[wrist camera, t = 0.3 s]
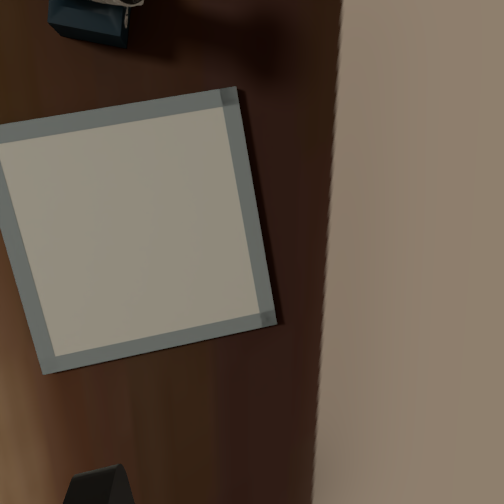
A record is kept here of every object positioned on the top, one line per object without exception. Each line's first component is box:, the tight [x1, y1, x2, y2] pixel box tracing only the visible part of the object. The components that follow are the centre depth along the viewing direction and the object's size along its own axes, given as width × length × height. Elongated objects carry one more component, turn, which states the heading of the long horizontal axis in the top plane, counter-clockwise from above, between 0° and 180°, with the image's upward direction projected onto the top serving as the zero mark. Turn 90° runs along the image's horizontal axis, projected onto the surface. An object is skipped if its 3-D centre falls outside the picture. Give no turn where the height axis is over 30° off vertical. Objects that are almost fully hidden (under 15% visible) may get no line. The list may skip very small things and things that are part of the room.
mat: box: [0, 86, 277, 375], centre depth 34 cm, size 18×18×1 cm
